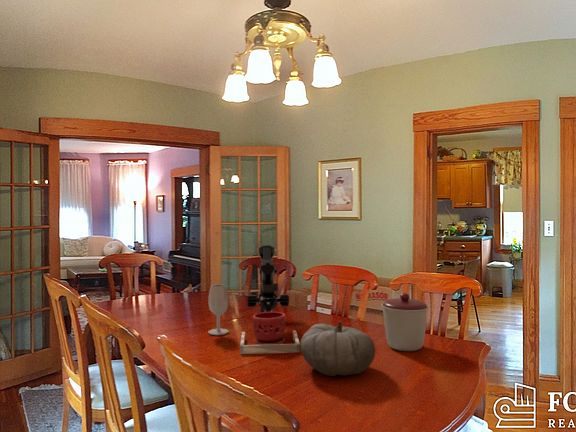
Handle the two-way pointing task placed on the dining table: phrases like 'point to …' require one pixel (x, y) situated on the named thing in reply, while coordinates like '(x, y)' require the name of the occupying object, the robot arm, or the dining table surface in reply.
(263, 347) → the frame
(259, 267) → the robot arm
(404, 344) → the canister
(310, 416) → the dining table surface
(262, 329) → the plant pot
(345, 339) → the gourd
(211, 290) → the wineglass
